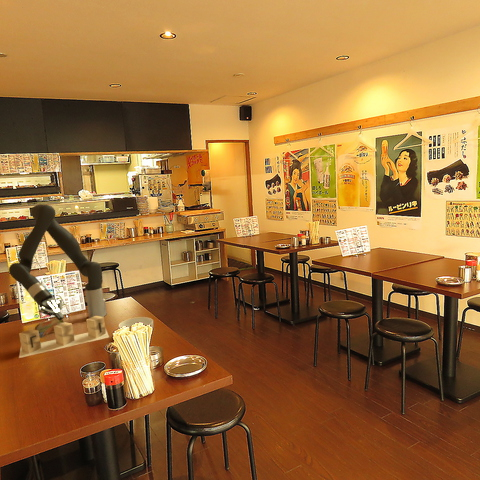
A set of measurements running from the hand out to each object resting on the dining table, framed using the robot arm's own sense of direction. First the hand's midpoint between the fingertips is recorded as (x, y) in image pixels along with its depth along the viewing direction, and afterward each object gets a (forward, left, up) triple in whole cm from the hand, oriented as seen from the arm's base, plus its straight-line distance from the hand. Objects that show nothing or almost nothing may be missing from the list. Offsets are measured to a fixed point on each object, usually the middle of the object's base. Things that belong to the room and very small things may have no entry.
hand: (62, 318), depth 193 cm
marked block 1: (-13, +8, -12) cm, 19 cm away
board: (0, 0, -13) cm, 13 cm away
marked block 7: (+13, -8, -12) cm, 19 cm away
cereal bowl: (-22, +27, -13) cm, 37 cm away
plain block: (0, 0, -12) cm, 12 cm away
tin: (-4, -19, -13) cm, 24 cm away
